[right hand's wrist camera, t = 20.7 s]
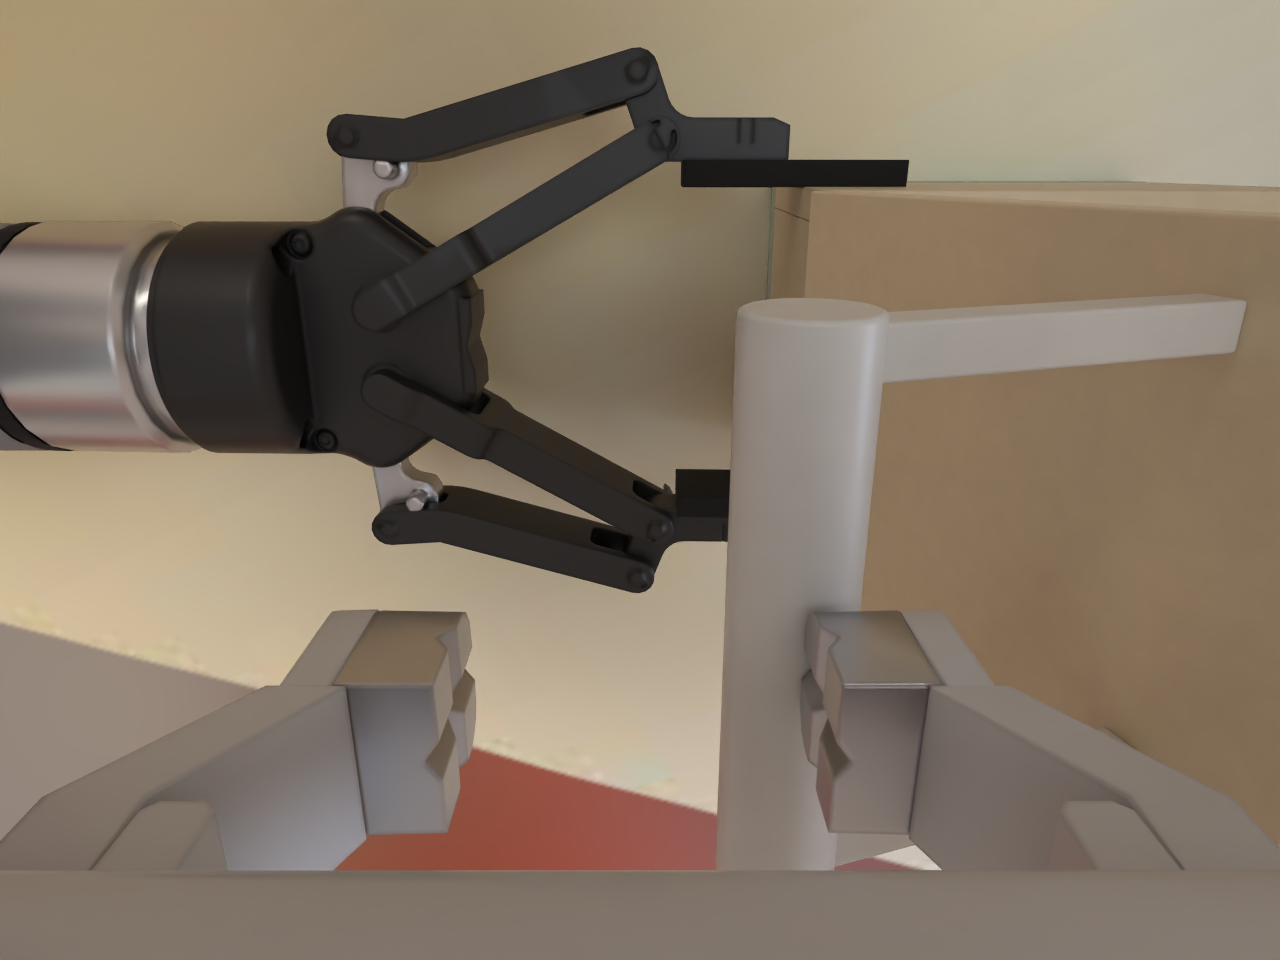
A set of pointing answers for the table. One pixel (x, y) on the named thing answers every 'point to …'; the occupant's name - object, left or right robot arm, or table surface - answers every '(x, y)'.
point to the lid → (1011, 483)
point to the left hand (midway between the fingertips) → (878, 344)
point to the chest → (795, 201)
